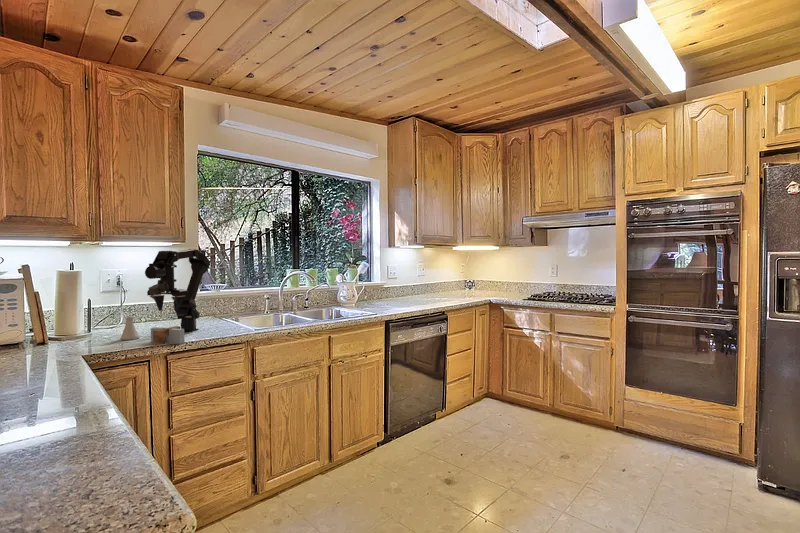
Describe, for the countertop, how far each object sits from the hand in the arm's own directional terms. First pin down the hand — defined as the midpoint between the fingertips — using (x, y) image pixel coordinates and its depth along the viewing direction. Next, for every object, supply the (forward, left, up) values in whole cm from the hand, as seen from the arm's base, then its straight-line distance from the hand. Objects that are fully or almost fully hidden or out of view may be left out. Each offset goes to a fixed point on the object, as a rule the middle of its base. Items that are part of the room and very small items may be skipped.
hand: (168, 310), depth 193 cm
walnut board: (+10, +10, -12) cm, 18 cm away
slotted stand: (+10, +10, -12) cm, 19 cm away
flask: (+9, -13, -12) cm, 20 cm away
